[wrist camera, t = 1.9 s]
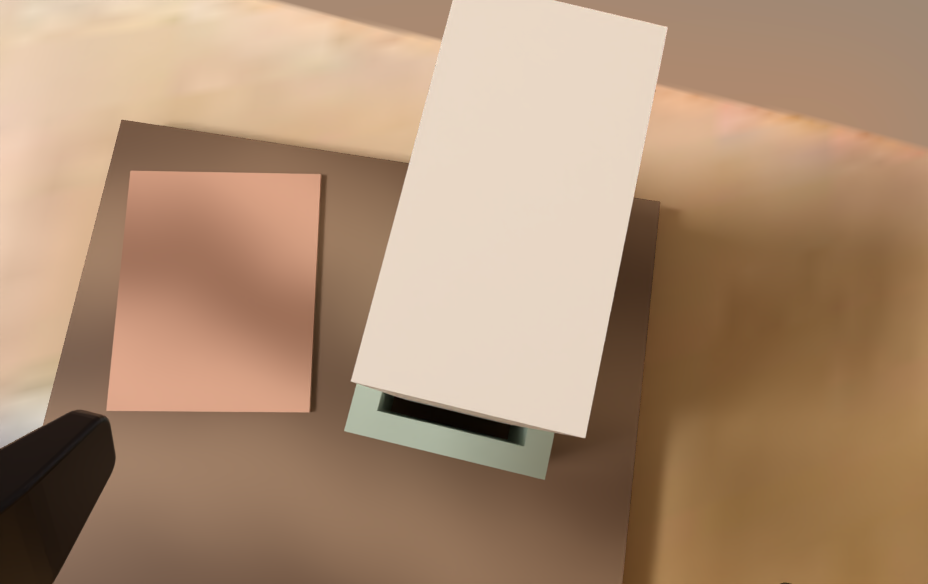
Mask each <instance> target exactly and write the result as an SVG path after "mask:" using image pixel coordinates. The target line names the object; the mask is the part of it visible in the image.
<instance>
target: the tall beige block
mask: <svg viewBox="0 0 928 584" xmlns="http://www.w3.org/2000/svg"><path fill="white" fill-rule="evenodd" d="M667 28H668V27H665V26H661V25H657V24H652V23H648V22H643V21H639V20H635V19H631V18H626V17H623V16H618V15H614V14H609V13H605V12H601V11H597V10H592V9H589V8H584V7H580V6H576V5H572V4H567V3H563V2H558V1H554V0H453V2H452V6H451V9H450V13H449V17H448V20H447V24H446V28H445V32H444V35H443V39H442V43H441V47H440V50H439V54H438V58H437V62H436V65H435V69H434V73H433V76H432V80H431V84H430V88H429V91H428V95H427V99H426V103H425V106H424V110H423V114H422V118H421V121H420V125H419V129H418V132H417V136H416V140H415V144H414V147H413V151H412V155H411V159H410V162H409V166H408V170H407V174H406V177H405V181H404V185H403V188H402V192H401V196H400V200H399V203H398V207H397V211H396V215H395V218H394V222H393V226H392V230H391V233H390V237H389V241H388V244H387V248H386V252H385V256H384V259H383V263H382V267H381V271H380V274H379V278H378V282H377V286H376V289H375V293H374V297H373V300H372V304H371V308H370V312H369V315H368V319H367V323H366V327H365V330H364V334H363V338H362V342H361V345H360V349H359V353H358V356H357V360H356V364H355V368H354V371H353V375H352V379H351V382H354V383H357V384H360V385H363V386H366V387H369V388H372V389H375V390H378V391H381V392H384V393H387V394H390V395H393V396H396V397H399V398H402V399H405V400H408V401H412V402H416V403H420V404H424V405H428V406H432V407H436V408H441V409H445V410H449V411H453V412H457V413H461V414H465V415H469V416H473V417H478V418H482V419H486V420H490V421H494V422H499V423H504V424H510V425H515V426H520V427H526V428H531V429H537V430H542V431H548V432H553V433H559V434H564V435H570V436H575V437H581V438H585V437H586V432H587V427H588V422H589V417H590V412H591V407H592V402H593V397H594V392H595V387H596V382H597V377H598V372H599V367H600V362H601V357H602V352H603V347H604V342H605V337H606V332H607V327H608V322H609V317H610V312H611V307H612V302H613V297H614V292H615V287H616V282H617V277H618V272H619V267H620V262H621V257H622V252H623V247H624V242H625V237H626V233H627V228H628V223H629V218H630V213H631V208H632V203H633V198H634V193H635V188H636V183H637V178H638V173H639V168H640V163H641V158H642V153H643V148H644V143H645V138H646V133H647V128H648V123H649V118H650V113H651V108H652V103H653V98H654V93H655V88H656V83H657V78H658V73H659V68H660V63H661V58H662V53H663V48H664V43H665V38H666V33H667Z"/></svg>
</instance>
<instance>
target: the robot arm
mask: <svg viewBox="0 0 928 584" xmlns="http://www.w3.org/2000/svg"><path fill="white" fill-rule="evenodd" d="M115 460H116V453H115V448H114V442H113V436H112V430H111V424H110V421H109V419H108V418H107V417H106V416H105V415H102V414H98V413H94V412H90V411H86V410H79V409H78V410H73V411H70V412H68V413H66V414H64V415H62V416H60V417H58V418H56V419H55V420H53V421H51V422H49V423H47V424H45V425H43V426H42V427H40V428H38V429H36V430H34V431H32V432H30V433H28V434H27V435H25V436H23V437H21V438H19V439H17V440H15V441H14V442H12V443H10V444H8V445H6V446H4V447H2V448H0V584H53V582H54V581H55V579H56V577H57V576H58V574H59V572H60V570H61V568H62V567H63V565H64V563H65V561H66V559H67V557H68V555H69V554H70V552H71V550H72V548H73V546H74V544H75V542H76V540H77V538H78V536H79V535H80V533H81V531H82V529H83V527H84V525H85V523H86V521H87V519H88V518H89V516H90V514H91V512H92V510H93V508H94V506H95V504H96V502H97V500H98V499H99V497H100V495H101V493H102V491H103V489H104V487H105V485H106V483H107V481H108V480H109V478H110V476H111V474H112V471H113V469H114V466H115ZM781 584H790V583H781Z"/></svg>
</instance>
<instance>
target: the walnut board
mask: <svg viewBox="0 0 928 584" xmlns="http://www.w3.org/2000/svg"><path fill="white" fill-rule="evenodd" d="M408 166H409V163H402V162H396V161H389V160H383V159H376V158H370V157H363V156H357V155H350V154H343V153H337V152H330V151H324V150H317V149H311V148H304V147H297V146H291V145H284V144H278V143H271V142H265V141H258V140H251V139H245V138H238V137H232V136H225V135H219V134H212V133H206V132H199V131H192V130H186V129H179V128H173V127H166V126H160V125H153V124H146V123H140V122H133V121H127V120H121V124H120V128H119V132H118V136H117V139H116V143H115V147H114V151H113V155H112V159H111V163H110V167H109V171H108V174H107V178H106V182H105V186H104V190H103V194H102V198H101V202H100V206H99V209H98V213H97V217H96V221H95V225H94V229H93V233H92V237H91V241H90V244H89V248H88V252H87V256H86V260H85V264H84V268H83V272H82V276H81V279H80V283H79V287H78V291H77V295H76V299H75V303H74V307H73V311H72V314H71V318H70V322H69V326H68V330H67V334H66V338H65V342H64V346H63V349H62V353H61V357H60V361H59V365H58V369H57V373H56V377H55V381H54V384H53V388H52V392H51V396H50V400H49V404H48V408H47V412H46V416H45V419H44V423H43V425H45V424H47V423H49V422H51V421H53V420H55V419H56V418H58V417H60V416H62V415H64V414H66V413H68V412H70V411H73V410H78V409H79V410H86V411H90V412H94V413H98V414H102V415H105V416H106V417H107V418H108V419H109V421H110V424H111V430H112V436H113V442H114V448H115V453H116V460H115V466H114V469H113V471H112V474H111V476H110V478H109V480H108V481H107V483H106V485H105V487H104V489H103V491H102V493H101V495H100V497H99V499H98V500H97V502H96V504H95V506H94V508H93V510H92V512H91V514H90V516H89V518H88V519H87V521H86V523H85V525H84V527H83V529H82V531H81V533H80V535H79V536H78V538H77V540H76V542H75V544H74V546H73V548H72V550H71V552H70V554H69V555H68V557H67V559H66V561H65V563H64V565H63V567H62V568H61V570H60V572H59V574H58V576H57V577H56V579H55V581H54V582H53V584H622V582H623V572H624V562H625V552H626V541H627V531H628V521H629V511H630V501H631V491H632V481H633V471H634V461H635V451H636V441H637V431H638V420H639V410H640V400H641V390H642V380H643V370H644V360H645V350H646V340H647V330H648V320H649V309H650V299H651V289H652V279H653V269H654V259H655V249H656V239H657V229H658V219H659V209H660V202H659V201H652V200H645V199H639V198H633V203H632V208H631V213H630V218H629V223H628V228H627V233H626V237H625V242H624V247H623V252H622V257H621V262H620V267H619V272H618V277H617V282H616V287H615V292H614V297H613V302H612V307H611V312H610V317H609V322H608V327H607V332H606V337H605V342H604V347H603V352H602V357H601V362H600V367H599V372H598V377H597V382H596V387H595V392H594V397H593V402H592V407H591V412H590V417H589V422H588V427H587V432H586V437H585V438H581V437H575V436H570V435H564V434H559V433H554V438H553V443H552V448H551V453H550V457H549V462H548V467H547V472H546V476H545V480H543V479H539V478H535V477H531V476H526V475H522V474H518V473H514V472H510V471H506V470H502V469H498V468H494V467H489V466H485V465H481V464H477V463H473V462H469V461H465V460H461V459H457V458H453V457H448V456H444V455H440V454H436V453H432V452H428V451H424V450H420V449H416V448H411V447H407V446H403V445H399V444H395V443H391V442H387V441H383V440H379V439H375V438H370V437H366V436H362V435H358V434H354V433H350V432H346V431H344V429H345V426H346V422H347V418H348V414H349V410H350V407H351V403H352V399H353V395H354V392H355V388H356V384H357V383H354V382H351V379H352V375H353V371H354V368H355V364H356V360H357V356H358V353H359V349H360V345H361V342H362V338H363V334H364V330H365V327H366V323H367V319H368V315H369V312H370V308H371V304H372V300H373V297H374V293H375V289H376V286H377V282H378V278H379V274H380V271H381V267H382V263H383V259H384V256H385V252H386V248H387V244H388V241H389V237H390V233H391V230H392V226H393V222H394V218H395V215H396V211H397V207H398V203H399V200H400V196H401V192H402V188H403V185H404V181H405V177H406V174H407V170H408ZM391 411H392V412H396V413H400V414H404V415H409V416H413V417H417V418H421V419H425V420H429V421H433V422H437V423H441V424H446V425H450V426H454V427H458V428H462V429H466V430H470V431H474V432H478V433H483V434H487V435H491V436H495V437H499V438H503V439H508V434H509V430H510V424H504V423H499V422H494V421H490V420H486V419H482V418H478V417H473V416H469V415H465V414H461V413H457V412H453V411H449V410H445V409H441V408H436V407H432V406H428V405H424V404H420V403H416V402H412V401H408V400H405V399H402V398H399V397H396V396H394V400H393V404H392V408H391Z"/></svg>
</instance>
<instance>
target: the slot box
mask: <svg viewBox="0 0 928 584" xmlns="http://www.w3.org/2000/svg"><path fill="white" fill-rule="evenodd" d="M393 400H394V396H393V395H390V394H387V393H384V392H381V391H378V390H375V389H372V388H369V387H366V386H363V385H360V384H356V388H355V392H354V395H353V399H352V403H351V407H350V410H349V414H348V418H347V422H346V426H345V429H344V431H346V432H350V433H354V434H358V435H362V436H366V437H370V438H375V439H379V440H383V441H387V442H391V443H395V444H399V445H403V446H407V447H411V448H416V449H420V450H424V451H428V452H432V453H436V454H440V455H444V456H448V457H453V458H457V459H461V460H465V461H469V462H473V463H477V464H481V465H485V466H489V467H494V468H498V469H502V470H506V471H510V472H514V473H518V474H522V475H526V476H531V477H535V478H539V479H543V480H545V476H546V472H547V467H548V462H549V457H550V453H551V448H552V443H553V438H554V433H553V432H548V431H542V430H537V429H531V428H526V427H520V426H515V425H510V430H509V434H508V439H503V438H499V437H495V436H491V435H487V434H483V433H478V432H474V431H470V430H466V429H462V428H458V427H454V426H450V425H446V424H441V423H437V422H433V421H429V420H425V419H421V418H417V417H413V416H409V415H404V414H400V413H396V412H392V411H391V408H392V404H393Z"/></svg>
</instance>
